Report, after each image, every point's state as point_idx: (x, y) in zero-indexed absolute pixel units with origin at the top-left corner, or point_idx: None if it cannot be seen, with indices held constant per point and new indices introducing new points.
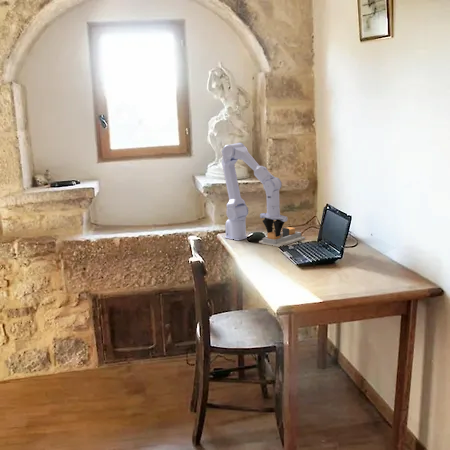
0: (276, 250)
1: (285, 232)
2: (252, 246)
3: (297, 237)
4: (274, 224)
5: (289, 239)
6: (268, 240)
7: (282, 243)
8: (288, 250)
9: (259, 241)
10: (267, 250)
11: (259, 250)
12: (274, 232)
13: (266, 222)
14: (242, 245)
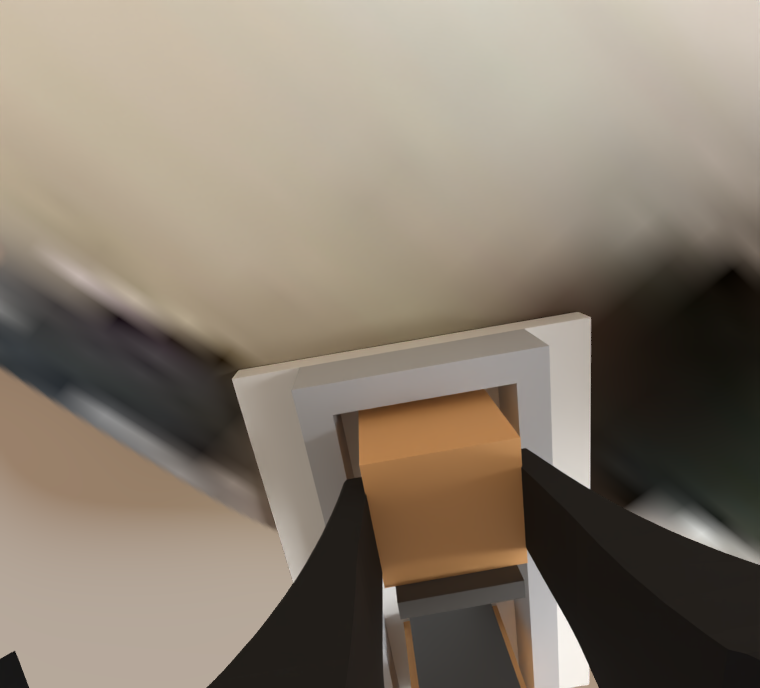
0: (107, 236)
1: (463, 670)
2: (517, 123)
3: None
4: (319, 667)
5: None
6: (423, 358)
7: (276, 455)
8: (17, 350)
9: (580, 318)
10: (184, 138)
11: (261, 41)
12: (461, 540)
13: (687, 628)
14: (678, 43)
